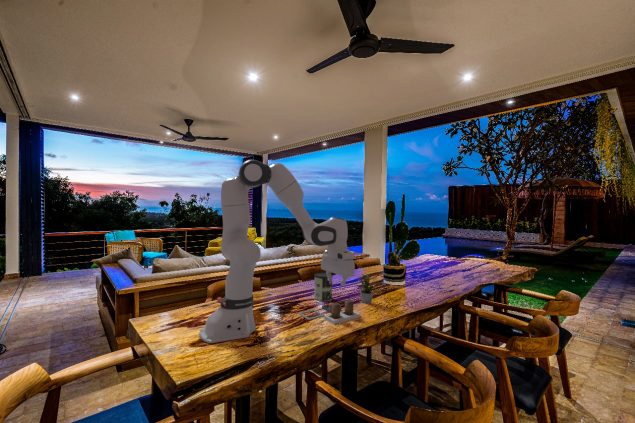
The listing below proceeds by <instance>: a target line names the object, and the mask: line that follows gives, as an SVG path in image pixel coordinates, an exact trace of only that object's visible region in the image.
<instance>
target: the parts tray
mask: <svg viewBox="0 0 635 423" xmlns="http://www.w3.org/2000/svg"><path fill="white" fill-rule="evenodd" d="M311 312H315V313H316V314H319V315H317V316H313V317H308V316H306V315H305V314H307V313H311ZM298 315H300V316H301V317H303V318H305V319H306V320H308V321H310V320H314V319H319V318H324V316H326V315H325V313H322V312H320V311H318V310H316V309H309V310H306V311H301V312H298Z"/></svg>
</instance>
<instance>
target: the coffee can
mask: <svg viewBox="0 0 635 423" xmlns="http://www.w3.org/2000/svg"><path fill="white" fill-rule="evenodd" d="M331 277H332V278H333V273H331ZM313 295H314V297H313V299H314V300H315V301H318V302H319V301H320V302H332V300H333V280H332V281H328V277H327V274H326V272H317V273H314V294H313Z"/></svg>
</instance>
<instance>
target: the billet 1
mask: <svg viewBox="0 0 635 423" xmlns="http://www.w3.org/2000/svg"><path fill="white" fill-rule="evenodd" d="M332 303H333V304H332V313H331V314H332V315H331V318H333V319H339V318H340V312H341V310H340V308H341V309H342V306H341V304H340V303H338V302H332Z"/></svg>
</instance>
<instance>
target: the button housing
mask: <svg viewBox="0 0 635 423" xmlns="http://www.w3.org/2000/svg"><path fill="white" fill-rule="evenodd" d="M321 309H322V310H323V311H326V312H327V313H329V314H332V308H330V307H329V303H327V304H324V305H323V304H322V305H321ZM340 311H342V307H341V308H340Z"/></svg>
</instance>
